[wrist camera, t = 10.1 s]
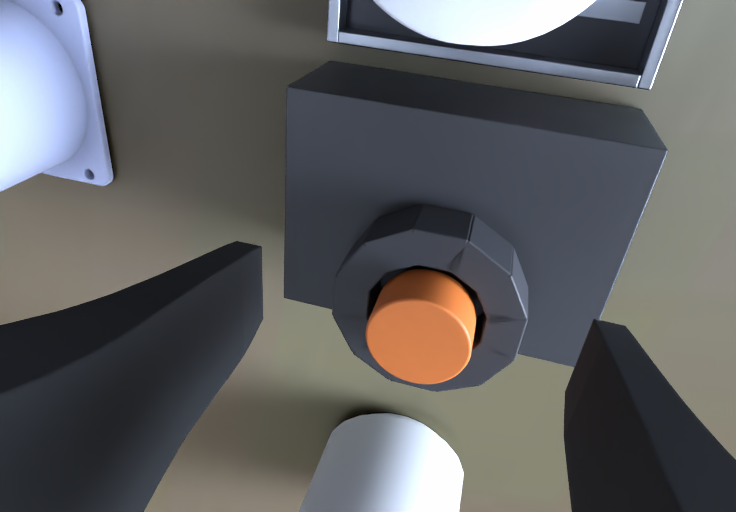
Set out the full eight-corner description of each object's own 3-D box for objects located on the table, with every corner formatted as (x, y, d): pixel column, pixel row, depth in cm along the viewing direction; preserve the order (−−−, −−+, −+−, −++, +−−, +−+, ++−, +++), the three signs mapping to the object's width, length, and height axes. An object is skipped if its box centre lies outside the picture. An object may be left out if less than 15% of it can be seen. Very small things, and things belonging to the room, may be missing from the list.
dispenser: (318, 265, 25) (263, 348, 20) (329, 60, 20) (261, 101, 15) (565, 321, 23) (574, 429, 18) (642, 109, 18) (684, 174, 13)
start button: (374, 336, 19) (360, 370, 17) (383, 258, 17) (369, 288, 15) (466, 359, 18) (460, 396, 17) (486, 280, 16) (482, 314, 15)
